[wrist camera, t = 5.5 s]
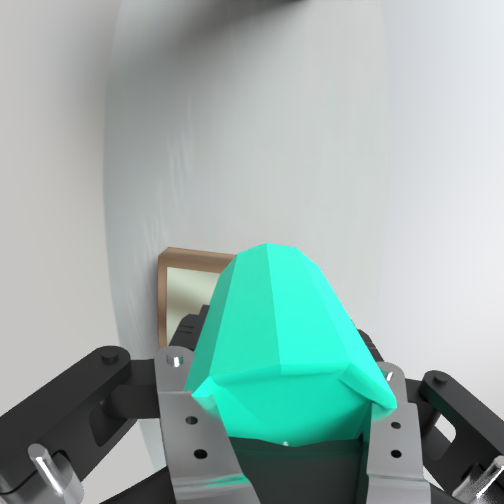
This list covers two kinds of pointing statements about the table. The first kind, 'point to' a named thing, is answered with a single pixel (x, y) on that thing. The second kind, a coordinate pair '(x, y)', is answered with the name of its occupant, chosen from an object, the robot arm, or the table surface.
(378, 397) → the candle
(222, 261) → the framed mirror
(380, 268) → the table surface
